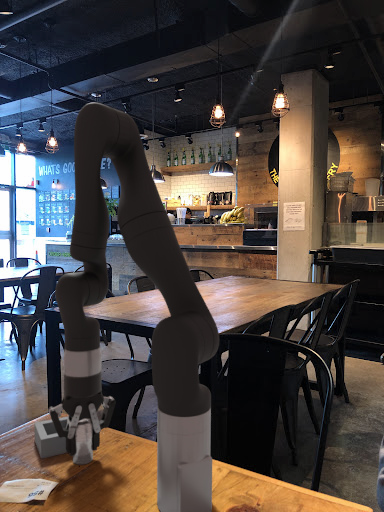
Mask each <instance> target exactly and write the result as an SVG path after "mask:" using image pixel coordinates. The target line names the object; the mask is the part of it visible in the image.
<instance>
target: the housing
mask: <svg viewBox="0 0 384 512" xmlns="http://www.w3.org/2000/svg"><path fill="white" fill-rule="evenodd" d="M67 419H68V416H63V417H59V420H60V423H61V425H62V428H65V429H66V426H67ZM33 424H34V425H33V426H34V427H33V428H34V442H35V446H36V447H37V450H38V454H39V456H40V460H42V459H45V458H49V457H54V456H58V455H63V454H68V452H67V450H66V438H65V437H62V438H60V437H59V436H58V434H57V432H56V429H55V427H54V424H53V422H52V419H51V418H50V419H47V420H41V421H37V422H34V423H33Z"/></svg>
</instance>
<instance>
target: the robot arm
mask: <svg viewBox="0 0 384 512" xmlns="http://www.w3.org/2000/svg"><path fill="white" fill-rule="evenodd" d="M73 147H74V148H73V149H74V151H73V158H74V159H73V160H74V161H73V164H74V167H73V168H74V187H75V188H74V194H75V195H74V197H75V198H74V199H75V200H74V213H73V215H74V216H73V223H72V230H71V238H70V246H69V255H70V257H71V258H72V259H73V260H75V261H77V262H78V261H79V262H82V264H83V271H79V272H68V273H65V274H62V275H61V276H60V277H59V278H58V280H57V283H56V285H55V289H54V290H55V293H54V294H55V300H56V303H57V308H58V311H59V314H60V317H61V322H62V326H63V328H64V352H63V354H64V355H63V362H62V363H63V365H62V370H63V397H62V400H61V402H60V404H58V405H56V406H49V407H48V408H47V411H48V414H49V416H50V420H51V419H52V422H53V424H54V427H55V429H56V432H57V434H58V436H59V437H60V438H62V437H65V438H66V450H67V452H68V453H67V454H69V455H70V457H73V456H74V455H75V438H74V433H75V429H76V427H77V424H78V421H80V420H82V419H91V421H92V423H93V452H94V451H97V450H98V448H99V447H100V443H101V440H100V439H101V437H100V435H101V431H102V430H104V429H108V428H109V426H110V424H111V421H112V417H113V414H114V409H115V407H116V405H117V401H116V400H115V398H114V397H113V396H111V395H109V396H104V395H103V392H102V391H103V390H102V352H101V325H100V322H99V321H98V319H96V318H95V317H91V316H89V317H88V316H86V314H85V311H84V307H89V306H95V305H99V304H101V303H102V302H103V301H104V300H105V298H106V296H107V294H108V291H109V284H110V282H109V273H108V263H107V255H106V253H107V245H108V239H109V233H110V212H109V208H108V205H107V200H106V198H105V195H104V191H103V186H102V181H101V179H102V176H101V171H102V170H101V168H102V162H103V157H104V158H105V157H106V158H108V159H109V160H110V161H111V162H112V165H113V167H114V169H115V172H116V174H117V176H118V177H117V178H118V180H119V184H120V195H119V198H118V199H119V200H118V206H117V216H116V217H117V219H116V220H117V224H118V228H119V231H120V234H121V237H122V239H123V242H124V246H125V247H126V250H127V252H128V255H129V256H130V258H131V259H132V261H133V262H134V263H135V265H136V266H137V267H138V268H139V269H140V270H141V272H142V273H144V275H145V276H146V277H147V278H148V279H149V281H151V282H152V284H153V285H154V286H155V287H156V288H157V290H158V291H159V292H160V294H161V297H162V298H163V300H164V301H165V304H166V307H167V310H168V311H169V315H170V316H168V317H165V318H163V319H161V320H160V321H159V322H158V323H157V324H156V326H155V327H154V329H153V332H152V337H151V345H150V346H151V347H150V350H151V352H150V353H151V370H152V371H151V372H152V373H151V374H152V375H151V376H152V386H153V390H154V393H155V397H156V399H157V418H156V419H157V421H156V423H157V424H156V427H157V429H156V431H157V433H156V434H157V436H156V437H157V438H156V439H157V441H156V442H157V443H156V451H157V453H156V456H157V457H156V469H157V470H156V475H157V476H156V487H157V488H156V491H157V492H156V505H157V508H158V510H159V512H212V510H213V509H212V508H213V457H212V456H211V431H212V430H211V428H212V427H211V425H212V424H211V423H212V422H211V421H212V416H211V415H212V413H211V412H212V411H211V410H212V393H211V391H210V389H209V387H207V386H206V385H204V384H201V383H200V379H199V377H200V375H199V374H200V373H199V366H200V364H202V363H204V362H207V361H209V360H210V359H212V358H213V357H214V356H215V355H216V354H217V351H219V346H220V333H219V329H218V327H217V324H216V321H215V319H214V318H213V317H214V316H213V315H212V313H211V311H210V309H209V308H208V306H207V305H208V304H207V303H206V301H205V300H204V297H203V295H202V294H201V292H200V289H199V288H198V286H197V284H196V282H195V280H194V278H193V275H192V273H191V271H190V268H189V265H188V263H187V261H186V258H185V255H184V253H183V250H182V248H181V246H180V243H179V241H178V238H177V236H176V233H175V229H174V226H173V225H172V222H171V220H170V216H169V214H168V212H167V210H166V207H165V205H164V203H163V201H162V199H161V196H160V193H159V191H158V188H157V185H156V182H155V179H154V177H153V175H152V172H151V170H150V169H151V168H150V166H149V163H148V159H147V155H146V152H145V148H144V145H143V141H142V137H141V134H140V131H139V128H138V125H137V123H136V122H135V120H134V119H133V117H132V116H130V115H129V114H128V113H126V112H125V111H122V110H119V109H117V108H114V107H111V106H108V105H106V104H103V103H100V102H90V103H86V104H85V105H84V106H83V107H82V108H81V109H80V111H79V112H78V114H77V115H76V119H75V124H74V132H73ZM101 406H103V411H102V414H101V417H100V420H99V417H98V413H97V412H98V411H99V409H100V407H101ZM63 410H64V411H65V413H66V414H67V415H68V419H67V426H66V429H65V428H62V425H61V423H60V420H59V418H61V416H62V411H63Z"/></svg>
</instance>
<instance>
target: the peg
mask: <svg viewBox="0 0 384 512" xmlns="http://www.w3.org/2000/svg"><path fill="white" fill-rule="evenodd" d="M74 438H75V455H74V456H72V463H73V464H75V465H79V466H81V465H86V464H89V463H91V462H92V461H93V459H94V451H93V423H92V421H91V419H82V420H80V421H78V424H77V427H76V429H75V433H74Z"/></svg>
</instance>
